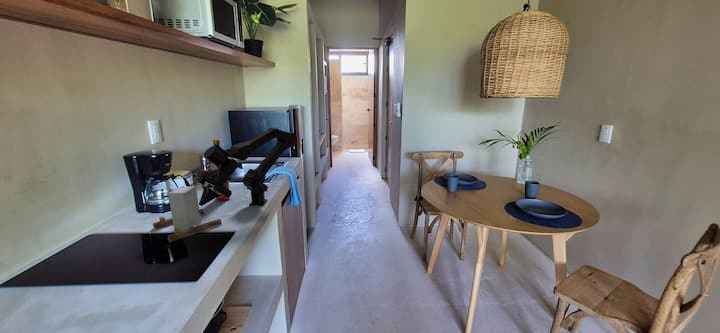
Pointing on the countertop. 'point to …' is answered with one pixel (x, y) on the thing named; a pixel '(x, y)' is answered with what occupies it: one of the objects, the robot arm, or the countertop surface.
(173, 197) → the skincare box
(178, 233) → the guide track
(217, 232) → the countertop surface
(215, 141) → the red white cylinder
